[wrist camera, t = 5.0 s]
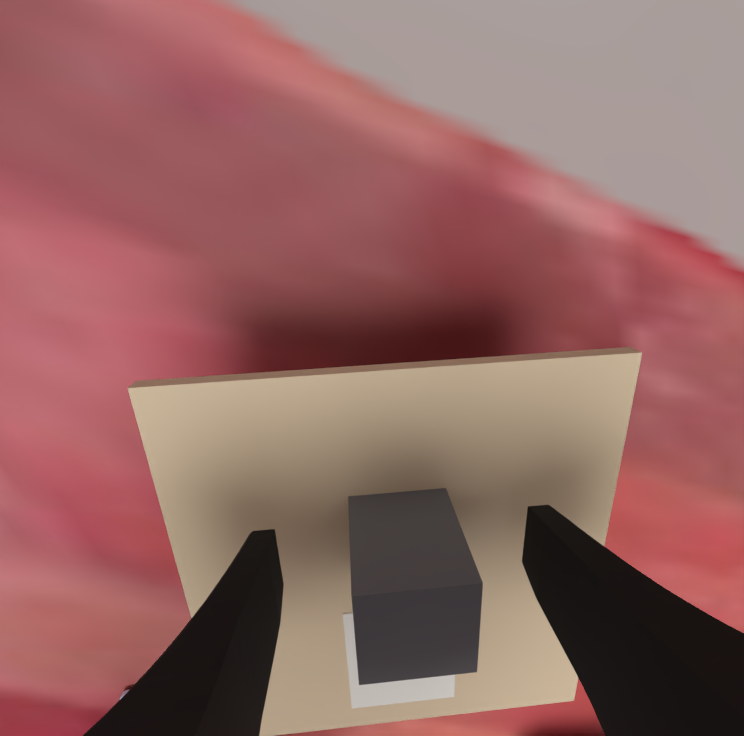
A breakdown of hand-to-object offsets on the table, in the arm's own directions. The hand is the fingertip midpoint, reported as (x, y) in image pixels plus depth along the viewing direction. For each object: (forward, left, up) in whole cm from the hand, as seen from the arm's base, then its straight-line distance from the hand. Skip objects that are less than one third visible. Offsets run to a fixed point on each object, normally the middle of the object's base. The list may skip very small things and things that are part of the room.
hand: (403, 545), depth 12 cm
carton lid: (-3, 0, -2) cm, 3 cm away
